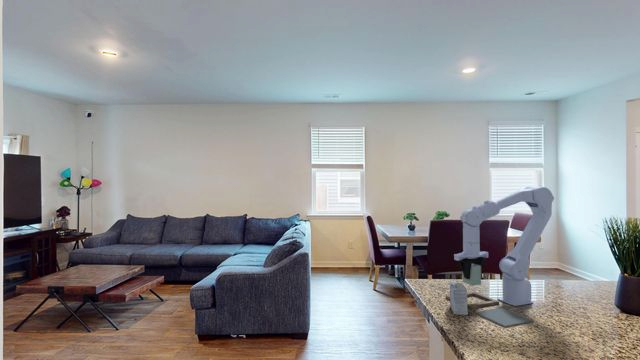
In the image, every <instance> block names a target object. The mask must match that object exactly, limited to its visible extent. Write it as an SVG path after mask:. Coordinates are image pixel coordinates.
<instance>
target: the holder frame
mask: <svg viewBox="0 0 640 360" xmlns="http://www.w3.org/2000/svg"><path fill="white" fill-rule="evenodd" d="M468 297H477V298H479V299H481V298H482V299H481V300H484V301H480V302H475V303H470V304H469V303H467V310H471V309H478V308H483V307H484V306H485V307H491V306H495V305H500V300H498V299H494V298H492V297H489V296H486V295H484V294H481V293H480V292H479V293H478V292H477V291H469V292H468V291H467V298H468ZM445 299H447V300H448V301H450V294H448V295H445Z"/></svg>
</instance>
